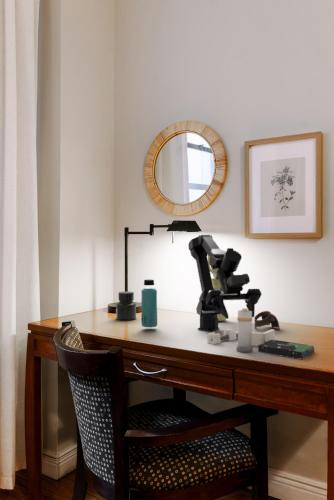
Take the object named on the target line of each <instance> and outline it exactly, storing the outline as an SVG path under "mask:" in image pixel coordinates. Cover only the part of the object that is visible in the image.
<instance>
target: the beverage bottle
mask: <svg viewBox="0 0 334 500" xmlns="http://www.w3.org/2000/svg"><path fill="white" fill-rule="evenodd" d="M143 285H144V286H154V285H155V280H154V279H144V280H143ZM140 292H141V300H140V301H141V303H140V304H141V315H140V316H141V319H140V321H141V326H142V327H143V328H156V327H157V326H158V290H157V289H156V288H155V287H144V288H143V289H141V291H140Z"/></svg>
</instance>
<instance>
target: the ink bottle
mask: <svg viewBox="0 0 334 500" xmlns="http://www.w3.org/2000/svg"><path fill="white" fill-rule="evenodd" d="M134 294H135V293H134V292H133V291H119V292H118V295H117V296H118V302H117V303H116V305H115V307H116V309H115V317H116V320H118V321H119V320H120V321H131V320H136V318H137V305H136V303H135V302H134V299H135V297H134V296H135V295H134Z"/></svg>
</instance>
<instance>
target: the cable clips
mask: <svg viewBox="0 0 334 500" xmlns="http://www.w3.org/2000/svg"><path fill="white" fill-rule="evenodd" d="M236 333H237V330H235V329H234V330H232V329H231V328H228V329H224V330H223V336H225V335H229V338H228V339H226V340H225V341H235V340H237V337H236ZM220 336H221V333H216V332H214V331H211V332H209V333H207V344H211V345H217V344H218V345H219V344H221V341H220ZM212 338H213V341H212Z"/></svg>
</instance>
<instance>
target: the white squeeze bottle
mask: <svg viewBox="0 0 334 500" xmlns="http://www.w3.org/2000/svg"><path fill="white" fill-rule="evenodd" d="M252 321H253V317H252V311H249V310H248V308H242V310H241V309H240V310H238V311H237V333H238V337H237V344H236V352H239V353H243V354H244V353H245V354H250V353H253V352H254V345H252V327H253V326H252V324H253V323H252Z"/></svg>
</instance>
